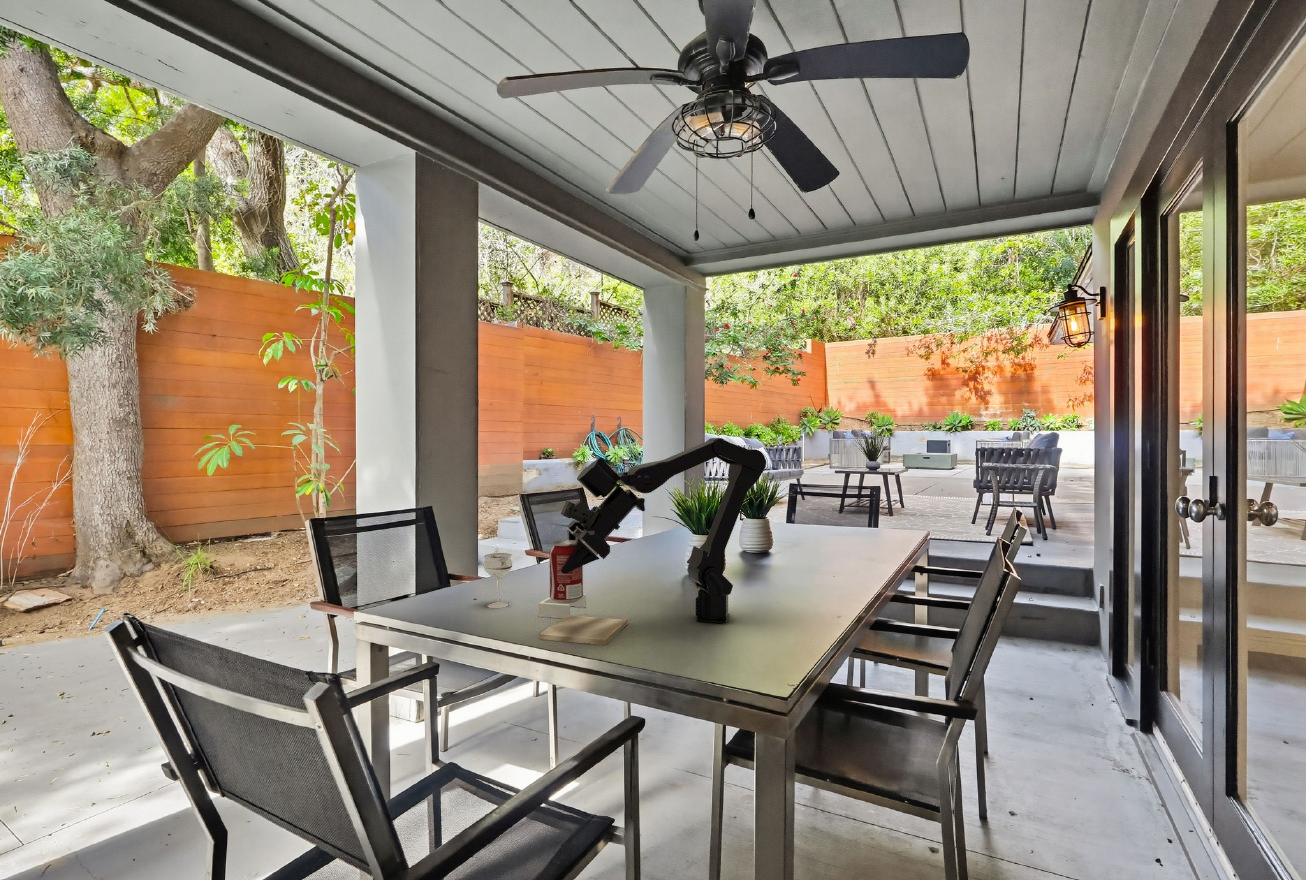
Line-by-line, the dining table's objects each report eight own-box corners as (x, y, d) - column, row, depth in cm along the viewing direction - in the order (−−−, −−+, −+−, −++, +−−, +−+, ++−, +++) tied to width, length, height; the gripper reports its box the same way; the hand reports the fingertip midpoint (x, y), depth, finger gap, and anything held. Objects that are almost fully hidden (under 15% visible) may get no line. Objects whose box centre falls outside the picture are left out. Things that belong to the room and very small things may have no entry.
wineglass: (481, 603, 153) (481, 554, 153) (509, 600, 156) (509, 552, 156) (486, 610, 147) (486, 559, 147) (515, 607, 150) (515, 556, 150)
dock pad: (627, 624, 136) (627, 619, 136) (605, 645, 122) (605, 639, 122) (567, 619, 139) (567, 615, 139) (539, 639, 126) (539, 634, 126)
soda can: (587, 602, 129) (587, 543, 128) (555, 606, 126) (554, 546, 125) (576, 594, 135) (575, 538, 134) (545, 598, 132) (545, 541, 132)
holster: (586, 606, 150) (586, 594, 150) (568, 618, 140) (568, 605, 140) (557, 604, 152) (557, 592, 152) (538, 616, 142) (538, 603, 142)
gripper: (576, 483, 140) (526, 536, 137) (593, 489, 122) (536, 550, 119) (611, 517, 142) (563, 569, 139) (632, 528, 124) (578, 588, 121)
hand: (559, 568), depth 130 cm, fingers closed on soda can, 7 cm apart
